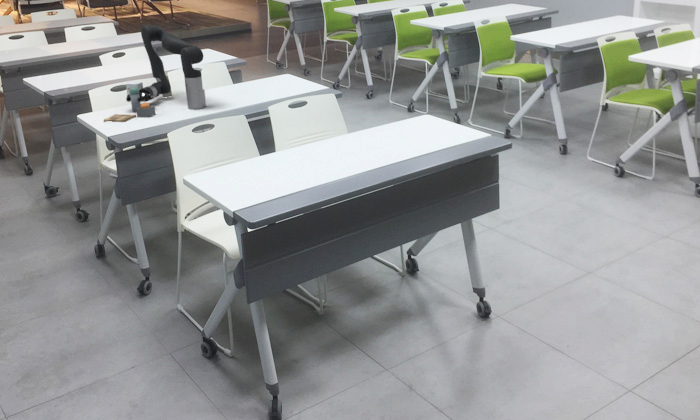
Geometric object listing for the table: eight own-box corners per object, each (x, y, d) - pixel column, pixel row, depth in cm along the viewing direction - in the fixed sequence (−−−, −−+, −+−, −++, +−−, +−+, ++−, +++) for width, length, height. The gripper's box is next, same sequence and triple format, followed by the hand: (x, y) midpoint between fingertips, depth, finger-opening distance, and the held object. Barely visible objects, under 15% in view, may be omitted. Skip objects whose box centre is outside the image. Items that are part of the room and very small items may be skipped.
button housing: (155, 114, 395) (154, 105, 393) (149, 117, 389) (148, 108, 387) (143, 113, 397) (142, 105, 395) (137, 116, 390) (136, 108, 389)
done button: (151, 108, 393) (150, 102, 392) (147, 110, 389) (146, 104, 388) (143, 108, 394) (143, 102, 393) (139, 109, 390) (139, 104, 389)
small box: (145, 99, 432) (142, 82, 429) (139, 101, 427) (137, 83, 424) (133, 99, 435) (131, 81, 431) (128, 101, 430) (125, 83, 426)
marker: (143, 110, 405) (140, 87, 400) (138, 112, 400) (135, 88, 396) (135, 110, 406) (131, 87, 401) (130, 112, 401) (127, 88, 397)
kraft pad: (136, 116, 391) (135, 114, 391) (124, 121, 380) (124, 119, 380) (115, 116, 394) (115, 114, 393) (103, 121, 383) (103, 119, 382)
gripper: (135, 86, 414) (120, 92, 399) (158, 87, 411) (144, 93, 396) (137, 99, 417) (122, 106, 401) (160, 100, 413) (145, 106, 398)
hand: (133, 99), depth 399 cm, fingers open, 6 cm apart
